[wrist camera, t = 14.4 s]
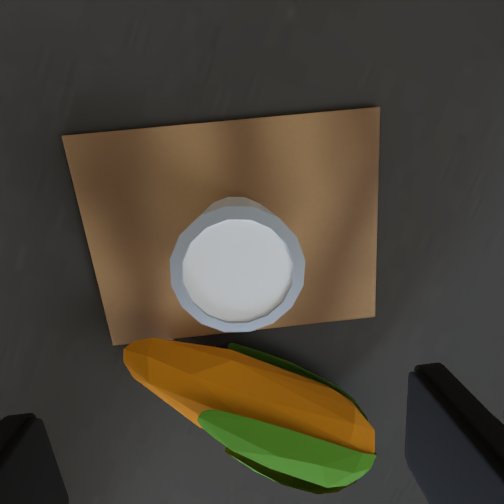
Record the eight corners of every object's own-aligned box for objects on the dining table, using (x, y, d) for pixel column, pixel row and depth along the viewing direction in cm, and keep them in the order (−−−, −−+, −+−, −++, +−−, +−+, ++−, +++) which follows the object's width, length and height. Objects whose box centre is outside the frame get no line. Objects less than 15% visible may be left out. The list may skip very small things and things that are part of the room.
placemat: (114, 342, 26) (112, 345, 26) (63, 135, 22) (60, 135, 21) (373, 314, 27) (375, 316, 26) (377, 107, 22) (380, 106, 22)
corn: (362, 543, 23) (74, 447, 19) (328, 452, 31) (113, 369, 27) (424, 460, 22) (128, 339, 18) (372, 386, 29) (154, 288, 25)
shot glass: (272, 290, 25) (287, 343, 19) (178, 272, 24) (158, 322, 18) (296, 198, 23) (323, 222, 17) (195, 176, 22) (181, 191, 16)
